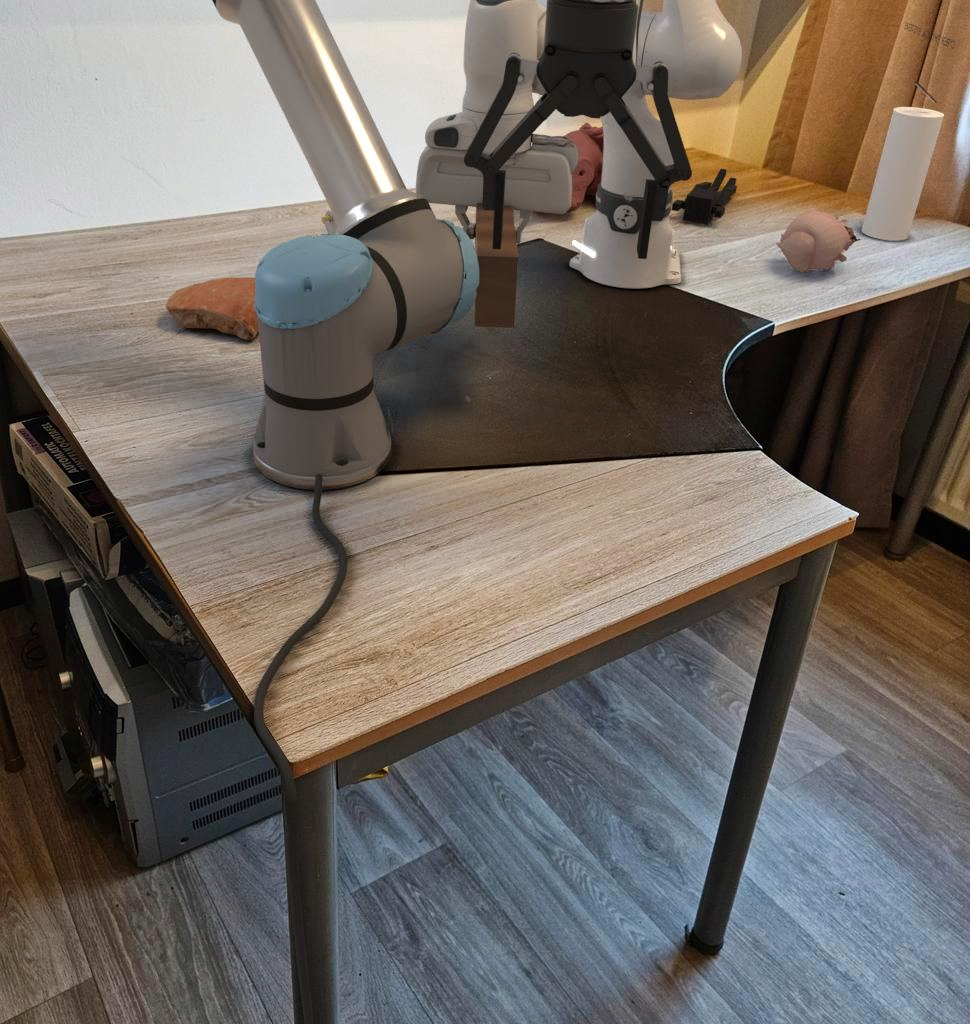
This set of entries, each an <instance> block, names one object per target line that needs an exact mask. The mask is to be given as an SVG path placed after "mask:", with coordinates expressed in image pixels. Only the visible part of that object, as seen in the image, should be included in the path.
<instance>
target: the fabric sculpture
mask: <svg viewBox="0 0 970 1024" xmlns="http://www.w3.org/2000/svg"><path fill="white" fill-rule="evenodd" d="M557 136H558V135H554V136H553V137H557ZM562 136H563V137H567V138H568V140H569V141H572V142H573V143H574V144H575V145H576V146H577V148H578V152H579V155H578V165H577V168H576V170H575V171H574V172H573V173H572V203H571V207H570V209H569V210H568V211H567V212H566V213H565V214H569V213H573V212H575V211H578V209H579V208H581V206H582V203H584V199H585V195H591V196H593V195H595V196H596V193H597V190H598V185H599V184H600V183H601V178H602V167H603V150H604V135H603V127H602V126H600V127H598V126H592V125H591V124H590V123H589V122H585V123H584V124H581V126H580V127H579V129H576V130H573V131H570V132H568V133H566V134H565V135H562ZM567 146H571V145H570V144H567ZM533 213H535V214H543V213H542V212H533Z"/></svg>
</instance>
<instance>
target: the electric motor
mask: <svg viewBox="0 0 970 1024" xmlns="http://www.w3.org/2000/svg"><path fill="white" fill-rule="evenodd" d="M321 223H322V224H323V225H324V226H325V231H326V232H327V234H336V232H337V229H338V223H337V221H336V219H335V217H334V215H333V213H332V211H331V210H328V211H326V212H325V214H324V216H321Z"/></svg>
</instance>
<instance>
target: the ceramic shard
mask: <svg viewBox="0 0 970 1024" xmlns="http://www.w3.org/2000/svg"><path fill="white" fill-rule="evenodd" d="M254 300H255V277H221V278H217V279H216V278H215V279H211V280H206V281H204V282H198V283H194V284H191V285H188V286H186V287H182V288H180V289H177V290H176V291H175V292H174V293H173V294H171V295H170V296H169V298H168V299H167V302H166V304H165V308H166V311H167V312H168V313H169V314H170V315H172V317H174V319H175V321H176V323H177V324H178V325H179V327H181V328H183V329H213V330H217V331H219V332H221V333H223V334H230V335H233V336H237V337H238V338H240V339H242V340H246V341H251V340H252V341H253V339H255V338H256V336H257V334H259V328H258V317H257V314H256V311H255V307H254Z"/></svg>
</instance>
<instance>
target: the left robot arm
mask: <svg viewBox="0 0 970 1024" xmlns="http://www.w3.org/2000/svg"><path fill="white" fill-rule="evenodd" d="M211 2H212V3H213V6H214V7H215V9H216V11H217V13H218V15H219V16H220V17H221V18H222V19H223V20H225V21H227V22H229V23H233V24H237V25H239V26H240V28H241V30H242V32H243V34H244V37H245V38H246V41H247V43H248V44H249V47H250V48H251V50H252V52H253V55H254V57H255V59H256V60H257V63H258V65H259V67H260V69H261V71H262V73H263V75H264V77H265V80H266V81H267V83H268V85H269V87H270V89H271V91H272V93H273V95H274V97H275V99H276V101H277V103H278V106H279V108H280V110H281V111H282V113H283V115H284V117H285V119H286V122H287V124H288V125H289V128H290V129H291V132H292V133H293V136H294V137H295V139H296V142H297V144H298V146H299V148H300V150H301V152H302V154H303V156H304V158H305V160H306V162H307V164H308V165H309V168H310V170H311V172H312V174H313V176H314V178H315V180H316V182H317V183H318V187H319V188H320V191H321V192H322V194H323V197H324V198H325V201H326V202H327V205H328V206H329V208H330V211H332V213H333V215H334V217H335V219H336V221H337V223H338V229H337V232H336V234H328V233H321V234H320V235H317V236H313V235H304V236H300V237H295V238H293V239H290V240H287V241H285V242H282V243H280V244H278V245H276V246H274V247H273V248H271V249H269V251H267V253H265V254H264V255H263V256H262V257H261V259H260V260H259V261H258V264H257V267H256V270H255V274H254V275H255V276H254V278H255V300H254V307H255V311H256V314H257V317H258V328H259V332H258V337H259V348H260V357H261V358H260V359H261V369H262V379H263V388H264V390H263V391H264V396H263V400H262V404H261V408H260V412H259V415H258V419H257V423H256V427H255V430H254V434H253V439H252V455H253V460H254V464H255V467H256V468H257V470H258V471H259V472H260V473H261V474H262V475H263V476H265V477H266V478H268V479H269V480H271V481H273V482H275V483H278V484H280V485H283V486H286V487H290V488H295V489H301V490H312V491H313V492H314V493H313V501H312V508H311V515H312V519H313V523H314V525H315V526H316V528H317V530H318V531H319V532H320V533H321V534H322V535H323V537H324V538H325V539H327V541H329V543H330V544H332V546H333V547H334V548H335V550H336V552H337V555H338V562H339V563H338V564H339V565H338V571H337V576H336V578H335V581H334V583H333V584H332V587H331V589H330V591H329V592H328V593H327V595H326V597H325V599H324V600H323V602H322V604H321V605H320V607H318V609H317V610H316V611H315V612H314V614H312V615H311V616H310V617H309V618H308V619H307V620H306V621H305V622H304V623H303V624H302V625H300V627H298V628H297V629H296V630H295V631H294V632H293V633H292V634H291V635H290V636H289V637H288V638H287V640H286V641H285V642H284V644H282V646H281V647H280V649H279V650H278V652H277V653H276V655H275V656H274V658H273V659H272V661H271V662H270V664H269V665H268V667H267V669H266V670H265V672H264V674H263V676H262V678H261V680H260V682H259V684H258V687H257V690H256V693H255V697H254V703H253V722H254V727H255V729H256V732H257V734H258V737H259V738H260V740H261V741H262V742H263V744H264V745H265V747H266V748H267V750H268V751H269V753H270V754H271V755H272V757H273V759H274V760H275V762H276V763H277V767H278V769H279V771H280V774H281V777H282V781H283V785H284V789H285V795H286V799H287V801H288V802H295V801H296V800H297V799H298V792H297V791H298V790H297V786H296V782H295V777H294V773H293V770H292V767H291V765H290V762H289V760H288V758H287V755H286V754H285V752H284V751H283V749H282V748H281V746H280V745H279V744H278V742H277V741H276V740H275V738H274V737H273V736H272V734H271V733H270V731H269V729H268V728H267V724H266V721H265V716H264V707H265V701H266V695H267V692H268V689H269V687H270V685H271V682H272V681H273V679H274V677H275V675H277V674H276V673H277V672H278V671H279V669H280V668H281V665H282V664H283V662H284V661H285V659H286V658H287V656H288V654H289V653H290V652H291V650H292V649H293V648H294V646H295V645H296V644H297V643H298V642H299V641H300V640H301V639H302V638H303V637H304V636H305V635H306V634H307V633H309V631H310V630H311V629H313V627H315V626H316V624H318V623H319V622H320V621H321V620H322V619H323V618H324V616H326V614H327V613H328V611H329V610H330V609H331V607H332V606H333V604H334V603H335V601H336V599H337V597H338V595H339V593H340V592H341V590H342V588H343V585H344V583H345V580H346V578H347V577H346V576H347V570H348V556H347V552H346V548H345V546H344V545H343V543H342V542H341V541H340V540H339V538H337V537H336V536H335V534H333V532H332V531H330V529H328V528H327V526H326V525H325V523H324V521H323V520H322V517H321V513H320V509H321V503H322V502H321V501H322V492H323V490H327V491H328V490H337V489H342V488H348V487H351V486H355V485H358V484H361V483H363V482H366V481H368V480H370V479H373V478H374V477H375V476H377V475H378V474H380V473H381V472H382V471H383V470H384V469H385V468H386V467H387V466H388V464H389V463H390V461H391V458H392V437H391V432H392V433H394V422H393V417H392V415H391V411H390V408H389V406H387V418H388V422H389V425H390V429H391V432H390V430H389V427H388V424H387V422H386V419H385V417H384V413H383V411H382V408H381V406H380V403H379V400H378V398H377V395H376V393H375V385H374V358H375V356H377V355H380V354H383V353H385V352H388V351H391V350H394V349H395V348H398V347H400V346H403V345H406V344H407V343H411V342H413V341H415V340H418V339H420V338H422V337H425V336H427V335H435V334H439V333H440V332H441V331H443V330H444V329H446V328H448V327H449V326H451V325H453V324H456V323H457V322H459V321H460V320H462V319H463V318H464V317H465V316H467V314H468V313H469V311H470V310H471V309H472V307H473V306H474V305H475V299H476V295H477V293H476V289H477V287H478V286H479V275H480V274H479V263H478V258H477V254H476V251H475V245H474V244H473V241H472V239H470V238H469V237H468V235H467V234H466V232H465V231H464V230H463V227H462V226H460V225H455V223H454V222H453V221H450V220H447V219H439V218H437V217H436V215H435V213H434V211H433V208H432V207H431V204H430V203H428V200H427V199H426V197H425V196H422V195H420V194H417V193H416V192H414V191H411V190H409V189H408V188H407V186H406V185H405V183H404V182H405V181H404V180H403V179H402V176H401V174H400V172H399V170H398V168H397V166H396V163H395V162H394V160H393V157H392V155H391V153H390V152H389V149H388V147H387V145H386V143H385V141H384V139H383V137H382V134H381V133H380V131H379V129H378V127H377V125H376V123H375V120H374V118H373V116H372V114H371V112H370V110H369V108H368V106H367V104H366V101H365V100H364V98H363V96H362V93H361V92H360V88H359V87H358V85H357V83H356V81H355V79H354V77H353V75H352V73H351V70H350V69H349V66H348V64H347V62H346V61H345V58H344V56H343V54H342V53H341V50H340V48H339V46H338V43H337V42H336V40H335V38H334V36H333V33H332V32H331V30H330V27H329V25H328V24H327V21H326V19H325V17H324V15H323V13H322V11H321V9H320V6H319V4H318V3H317V0H211ZM546 8H547V9H546V23H545V37H544V50H543V54H542V56H541V58H540V59H539V60H534V59H529V58H523V57H520V55H519V54H518V53H511V54H510V55H509V56H508V59H507V62H506V67H505V73H504V80H503V83H502V84H501V86H500V88H499V90H498V92H497V94H496V96H495V98H494V100H493V102H492V103H491V105H490V107H489V109H488V111H487V113H486V115H485V117H484V119H483V121H482V122H481V124H480V126H479V128H478V130H477V132H476V134H475V136H474V138H473V139H472V141H471V143H470V145H469V147H468V149H467V151H466V154H465V157H464V163H465V165H466V166H468V167H473V168H476V169H478V170H480V171H481V172H482V174H483V200H482V205H483V208H484V210H493V211H494V227H493V247H492V249H501V243H502V231H503V212H504V194H505V176H506V170H499V169H500V168H501V167H502V166H503V165H504V164H505V163H506V162H507V160H508V159H509V158H510V157H511V156H512V155H513V154H514V153H515V152H516V151H517V150H518V149H519V147H520V146H521V145H522V144H523V143H524V142H525V141H526V140H527V139H528V138H529V137H530V136H531V134H532V133H533V134H534V132H535V131H536V130H537V129H538V128H539V127H540V126H541V125H542V124H543V123H544V122H545V121H546V120H547V119H548V118H550V116H551V115H552V114H553V113H554V112H555V111H557V112H558V113H560V114H561V115H563V117H566V118H568V117H569V118H575V117H579V116H583V117H587V118H590V119H599V120H601V118H600V117H602V116H605V115H607V114H608V113H609V112H610V113H611V114H612V116H613V117H614V119H615V120H616V122H617V123H618V125H619V126H620V127H621V129H622V130H623V132H624V133H625V135H626V136H627V138H628V139H629V141H630V142H631V144H632V145H633V147H634V148H635V150H636V151H637V153H638V154H639V156H640V158H641V159H642V161H643V162H644V164H645V165H646V167H647V168H648V170H649V171H650V173H651V174H652V176H653V177H654V179H655V180H650V179H646V183H645V191H644V198H643V206H642V213H641V220H640V228H639V235H638V243H637V254H638V259H647V252H648V245H649V238H650V231H651V224H652V221H662V220H663V218H664V216H665V210H666V203H667V197H668V190H669V187H670V186H671V187H672V185H673V184H675V183H678V182H681V181H683V182H686V181H689V180H690V179H691V178H692V176H693V170H692V167H691V164H690V161H689V157H688V155H687V151H686V148H685V146H684V145H685V144H684V142H683V138H682V136H681V132H680V129H679V126H678V123H677V120H676V117H675V113H674V111H673V107H672V104H671V101H670V98H669V97H668V70H667V68H666V66H665V64H664V63H663V62H662V61H657V62H655V63H654V64H653V65H644V66H635V65H634V63H633V48H634V39H635V31H636V22H637V14H638V5H637V4H636V1H635V0H546ZM533 74H537V77H538V79H539V81H540V83H541V84H542V86H543V88H544V89H545V91H546V92H545V93H544V94H543V95H541V96H540V97H539V99H537V101H536V102H535V104H534V106H533V108H532V109H531V110H530V111H529V112H528V113H527V114H526V115H525V116H524V117H523V119H522V120H521V121H520V122H519V123H518V124H517V125H516V126H515V127H514V128H513V130H512V131H511V132H510V133H509V134H508V135H507V136H506V137H505V138H504V139H503V141H502V142H501V143H500V144H499V145H498V146H497V147H496V148H495V149H494V150H493V152H492V153H491V154H490V155H488V154H485V153H483V151H484V149H485V147H486V145H487V143H488V141H489V139H490V138H491V136H492V134H493V132H494V130H495V128H496V126H497V125H498V123H499V121H500V119H501V117H502V115H503V113H504V112H505V110H506V108H507V106H508V104H509V102H510V100H511V98H512V96H513V94H514V92H515V89H516V86H517V85H524V84H525V83H526V82H527V79H528V78H529V76H531V75H533ZM635 80H638V81H640V82H641V83H642V84H643V88H644V90H645V91H646V92H647V93H652V95H651V96H652V100H653V103H654V106H655V109H656V112H657V115H658V120H659V121H660V122H661V125H662V128H663V131H664V134H665V137H666V140H667V143H668V146H669V149H670V152H671V155H672V158H673V162H674V164H672V165H669V166H665V165H664V163H663V161H662V160H661V158H660V157H659V155H658V154H657V152H656V151H655V149H654V148H653V146H652V144H651V143H650V141H649V140H648V138H647V137H646V135H645V134H644V132H643V131H642V129H641V127H640V126H639V124H638V123H637V121H636V120H635V118H634V117H633V115H632V114H631V112H630V110H629V108H628V107H627V105H626V104H625V102H624V100H623V99H622V97H623V96H624V94H625V93H626V92H627V91H628V90H629V88H630V87H631V86H632V85H633V83H634V82H635ZM286 832H287V833H286V852H287V853H286V854H287V867H288V869H287V870H288V881H289V893H290V894H289V895H290V905H291V917H292V928H293V937H294V945H295V955H296V965H297V972H298V980H299V988H300V989H299V990H300V997H301V1005H302V1013H303V1023H304V1024H315V1023H314V1014H313V1003H312V995H311V987H310V977H309V967H308V959H307V949H306V939H305V930H304V918H303V917H304V916H303V906H302V905H303V904H302V893H301V880H300V865H299V849H298V846H299V844H298V843H299V841H298V840H299V827H298V826H295V825H294V824H293V825H292V824H289V823H287V831H286Z"/></svg>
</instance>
